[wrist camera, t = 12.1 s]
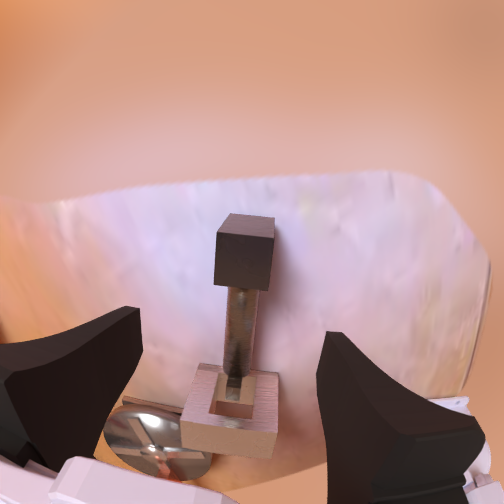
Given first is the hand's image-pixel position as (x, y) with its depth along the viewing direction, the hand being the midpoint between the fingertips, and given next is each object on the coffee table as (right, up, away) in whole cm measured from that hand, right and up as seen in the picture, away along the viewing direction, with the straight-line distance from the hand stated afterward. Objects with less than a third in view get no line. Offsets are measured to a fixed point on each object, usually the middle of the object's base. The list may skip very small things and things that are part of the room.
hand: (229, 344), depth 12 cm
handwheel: (-7, -15, +13) cm, 21 cm away
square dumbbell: (0, 0, +9) cm, 9 cm away
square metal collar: (0, -7, +12) cm, 14 cm away
